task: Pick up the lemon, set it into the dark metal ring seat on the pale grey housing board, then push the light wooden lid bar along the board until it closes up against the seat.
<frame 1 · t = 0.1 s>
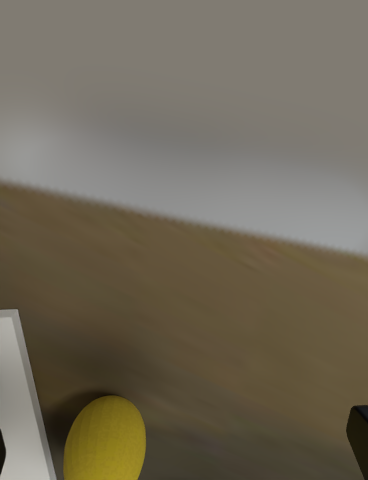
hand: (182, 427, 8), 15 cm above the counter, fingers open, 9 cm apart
lemon: (114, 397, 27), on the counter
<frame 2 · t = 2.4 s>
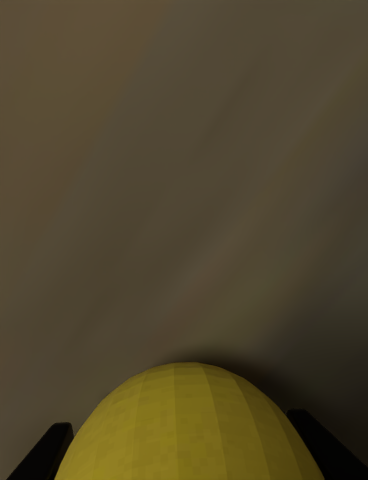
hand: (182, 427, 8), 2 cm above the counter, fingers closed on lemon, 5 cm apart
lemon: (178, 374, 10), on the counter, touching gripper
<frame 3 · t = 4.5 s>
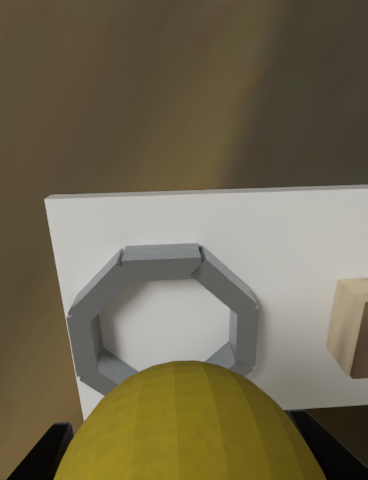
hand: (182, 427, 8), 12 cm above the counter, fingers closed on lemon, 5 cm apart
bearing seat: (165, 322, 20), resting on housing board
lemon: (177, 373, 10), point 10 cm above the counter, touching gripper
housing board: (253, 308, 21), on the counter
when the fingers open (4 cm above the counter, at t = 6.6 s): lemon drops 1 cm, resting on housing board.
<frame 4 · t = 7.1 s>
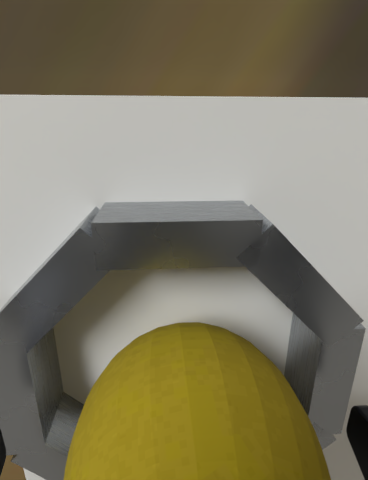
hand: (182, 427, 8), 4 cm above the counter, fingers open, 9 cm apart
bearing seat: (175, 348, 11), resting on housing board
lemon: (179, 344, 11), point 1 cm above the counter, touching housing board
housing board: (322, 324, 12), on the counter
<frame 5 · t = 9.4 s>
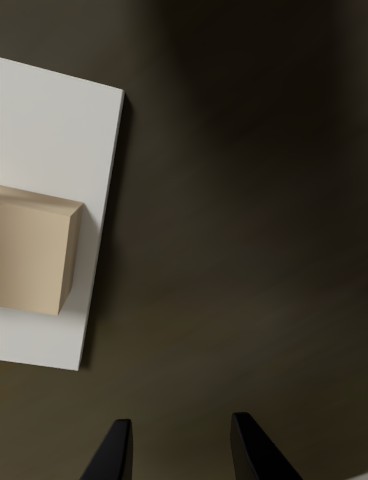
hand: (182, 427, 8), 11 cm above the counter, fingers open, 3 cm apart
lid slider: (4, 247, 15), point 3 cm above the counter, slide at 5.0 cm
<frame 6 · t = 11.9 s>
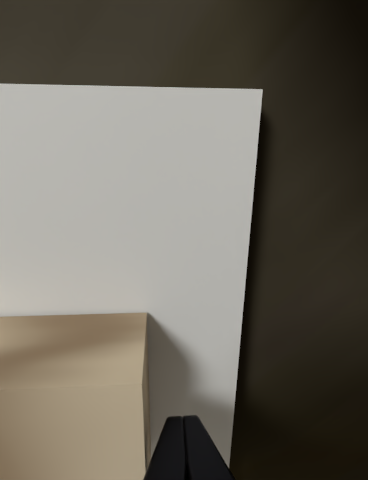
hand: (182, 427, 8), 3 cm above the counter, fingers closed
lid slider: (25, 434, 8), point 2 cm above the counter, slide at 3.3 cm, touching gripper
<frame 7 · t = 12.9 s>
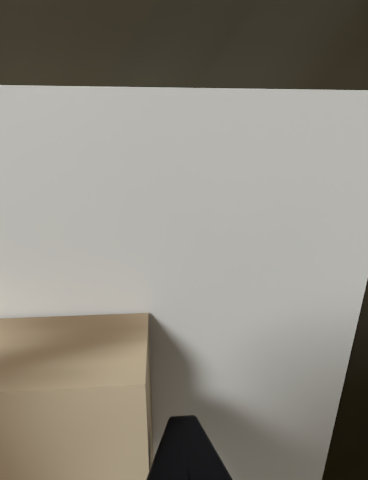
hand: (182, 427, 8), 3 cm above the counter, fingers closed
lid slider: (28, 435, 8), point 2 cm above the counter, slide at -0.1 cm, touching gripper
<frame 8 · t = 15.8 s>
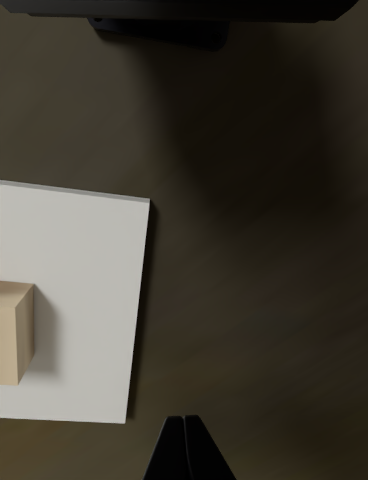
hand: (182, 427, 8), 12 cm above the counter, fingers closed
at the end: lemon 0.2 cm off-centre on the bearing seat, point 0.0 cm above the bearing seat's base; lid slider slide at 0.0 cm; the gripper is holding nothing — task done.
